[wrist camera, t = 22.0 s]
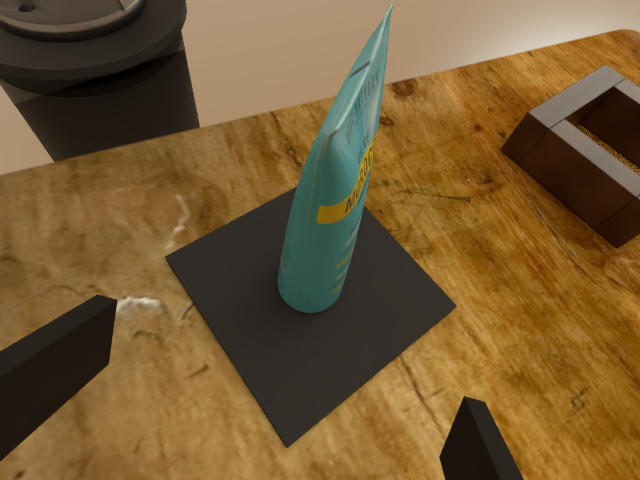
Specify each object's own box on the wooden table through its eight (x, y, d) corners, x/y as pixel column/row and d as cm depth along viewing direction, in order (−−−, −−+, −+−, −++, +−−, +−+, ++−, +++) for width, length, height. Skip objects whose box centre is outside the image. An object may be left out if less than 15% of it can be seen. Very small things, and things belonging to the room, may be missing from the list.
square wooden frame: (499, 149, 41) (527, 111, 36) (573, 101, 46) (605, 64, 42) (616, 248, 36) (664, 218, 32) (684, 183, 41) (732, 149, 37)
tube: (329, 337, 28) (419, 150, 12) (264, 319, 28) (260, 108, 12) (350, 249, 32) (439, 14, 15) (292, 233, 32) (319, -17, 16)
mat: (166, 260, 30) (164, 256, 30) (329, 173, 36) (330, 168, 36) (286, 447, 25) (287, 447, 24) (454, 308, 31) (457, 305, 31)
